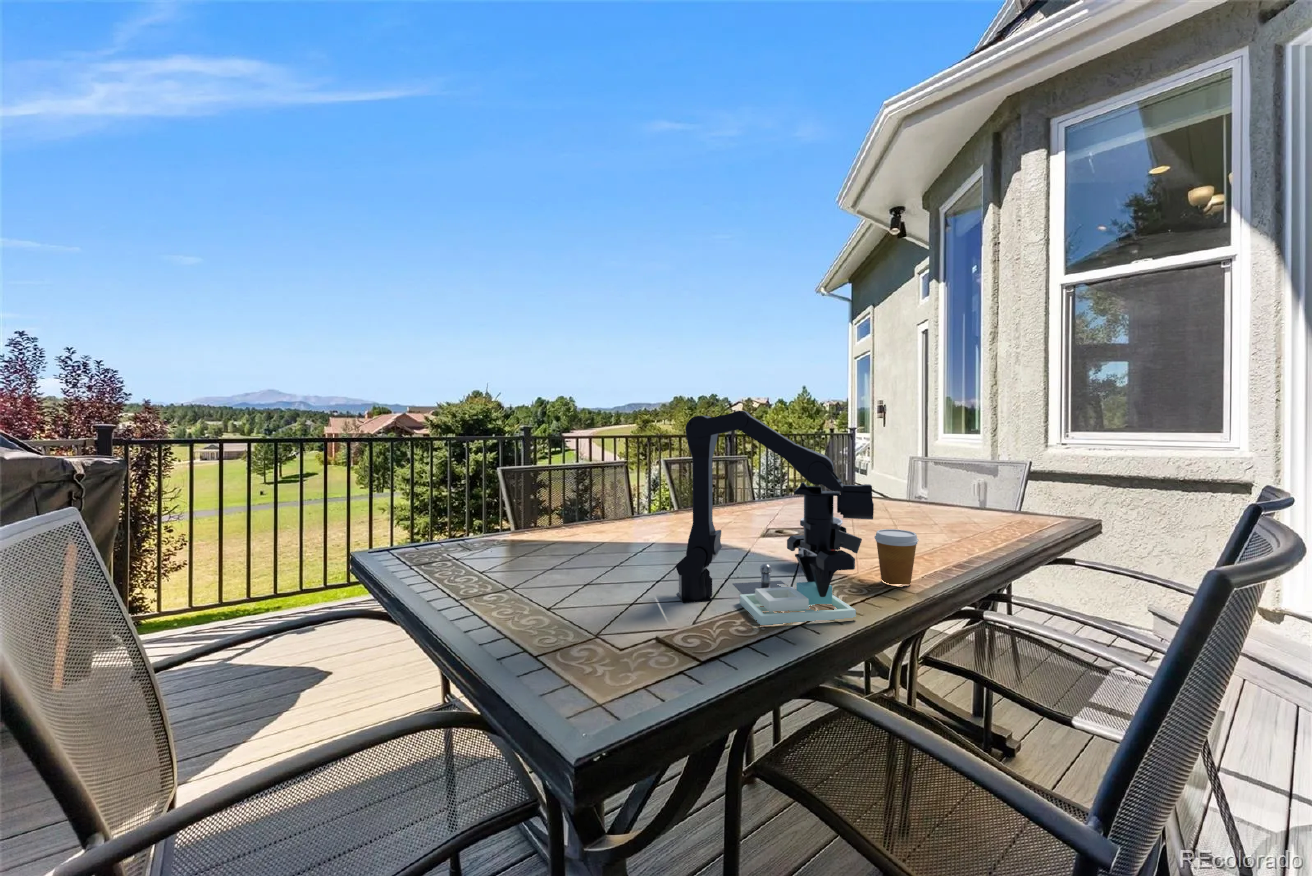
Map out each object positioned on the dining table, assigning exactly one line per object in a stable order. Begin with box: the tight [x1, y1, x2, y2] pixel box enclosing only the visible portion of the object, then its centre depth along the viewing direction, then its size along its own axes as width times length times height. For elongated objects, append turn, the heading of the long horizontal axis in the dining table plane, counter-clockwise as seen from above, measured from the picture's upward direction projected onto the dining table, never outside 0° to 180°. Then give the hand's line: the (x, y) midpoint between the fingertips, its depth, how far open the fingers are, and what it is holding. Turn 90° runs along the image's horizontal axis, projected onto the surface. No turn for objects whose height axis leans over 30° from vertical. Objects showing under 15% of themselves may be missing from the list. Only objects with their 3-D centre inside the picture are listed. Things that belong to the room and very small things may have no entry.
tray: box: [739, 593, 857, 625], centre depth 111 cm, size 19×13×2 cm
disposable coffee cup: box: [874, 528, 920, 584], centre depth 129 cm, size 10×10×12 cm
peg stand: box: [732, 563, 786, 594], centre depth 124 cm, size 12×12×6 cm
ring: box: [755, 581, 833, 612], centre depth 111 cm, size 14×8×4 cm, turn 99°
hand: (818, 593), depth 111 cm, fingers closed on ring, 3 cm apart
